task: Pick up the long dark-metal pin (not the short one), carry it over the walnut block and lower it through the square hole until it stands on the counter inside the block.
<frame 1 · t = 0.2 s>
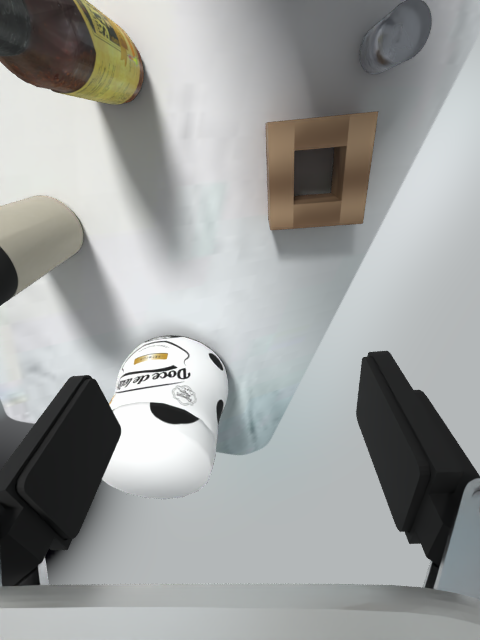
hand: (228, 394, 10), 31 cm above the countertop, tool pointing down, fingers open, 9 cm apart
milk container: (180, 367, 51), on the countertop
sauce bottle: (114, 67, 30), on the countertop
travel mug: (54, 227, 39), on the countertop
hole block: (310, 171, 34), on the countertop
short pin: (378, 49, 28), on the countertop
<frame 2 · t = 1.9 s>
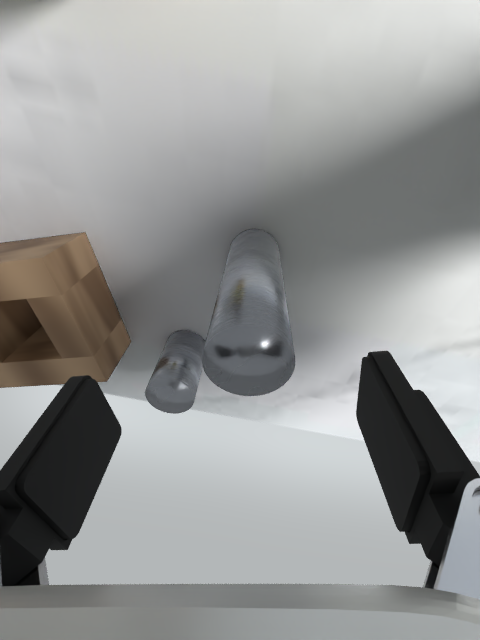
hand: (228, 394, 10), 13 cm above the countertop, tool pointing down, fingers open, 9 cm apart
long pin: (254, 253, 21), on the countertop
hole block: (54, 298, 25), on the countertop
short pin: (186, 346, 27), on the countertop
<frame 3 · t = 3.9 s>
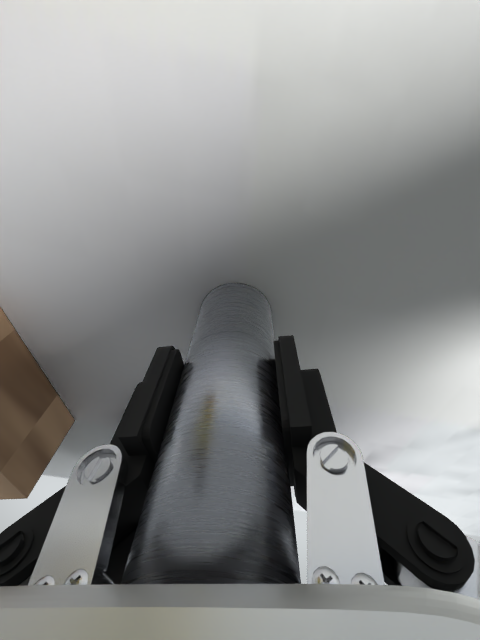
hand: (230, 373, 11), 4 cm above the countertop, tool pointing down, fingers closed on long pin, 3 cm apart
long pin: (235, 315, 15), on the countertop, touching gripper
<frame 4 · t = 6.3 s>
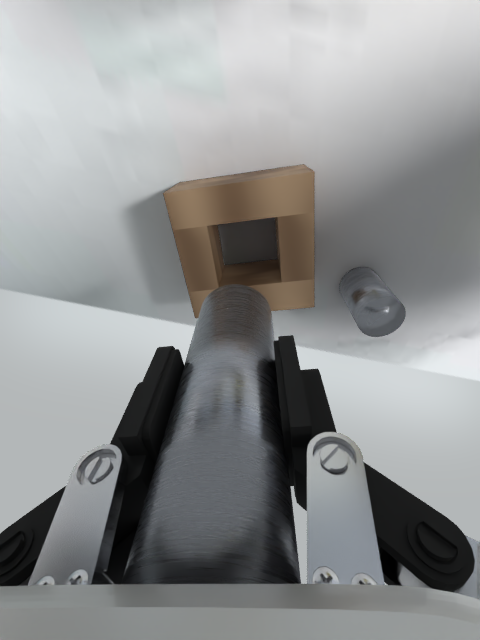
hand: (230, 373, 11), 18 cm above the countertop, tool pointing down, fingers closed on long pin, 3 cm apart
long pin: (235, 316, 15), point 13 cm above the countertop, touching gripper
hole block: (247, 235, 26), on the countertop
short pin: (358, 284, 28), on the countertop
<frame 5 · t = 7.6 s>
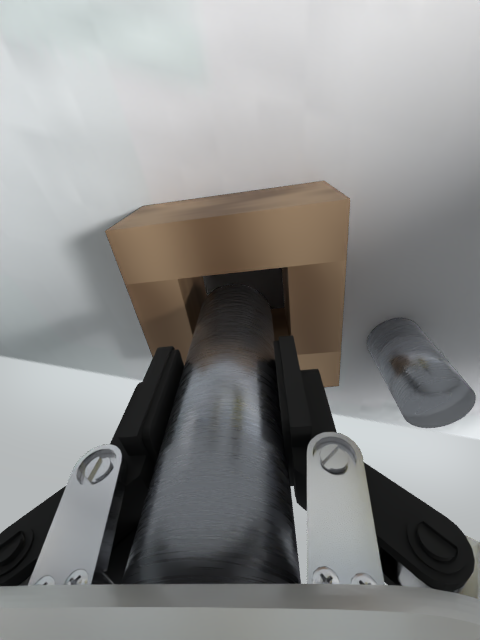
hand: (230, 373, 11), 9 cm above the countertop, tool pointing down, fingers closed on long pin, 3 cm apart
long pin: (235, 316, 15), point 5 cm above the countertop, touching gripper
hole block: (242, 277, 19), on the countertop
short pin: (393, 339, 21), on the countertop
when the fingers open (6 cm above the countertop, at t = 8.8 s): long pin drops 2 cm, resting in hole block.
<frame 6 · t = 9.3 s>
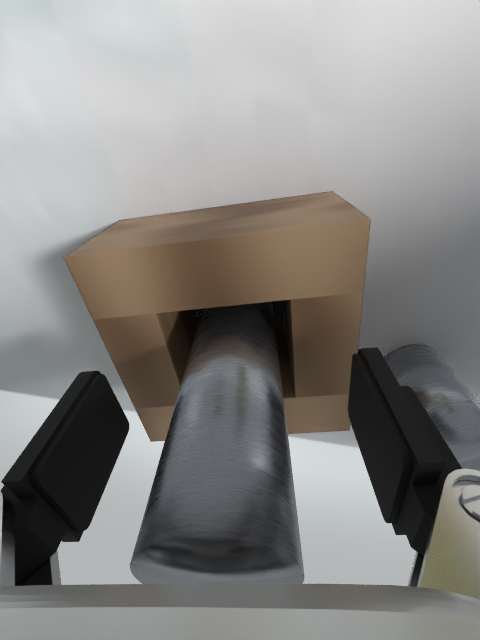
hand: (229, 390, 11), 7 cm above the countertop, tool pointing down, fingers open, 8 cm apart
long pin: (239, 300, 16), resting in hole block
hole block: (237, 300, 16), on the countertop
short pin: (408, 367, 18), on the countertop
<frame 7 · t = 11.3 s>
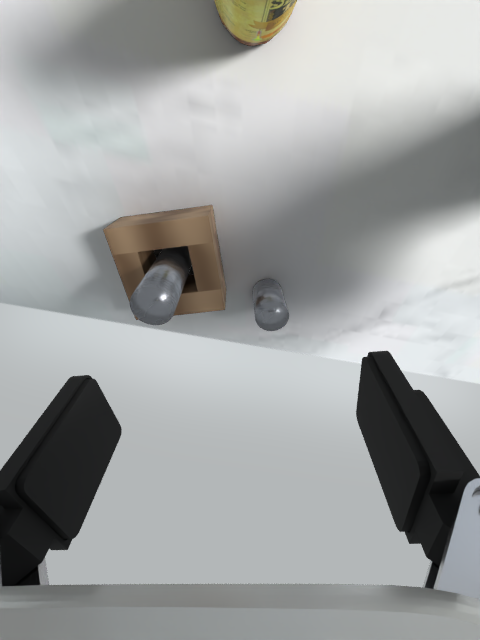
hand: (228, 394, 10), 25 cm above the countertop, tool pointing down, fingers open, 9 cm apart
long pin: (178, 255, 34), resting in hole block
hole block: (177, 255, 34), on the countertop
short pin: (267, 292, 37), on the countertop
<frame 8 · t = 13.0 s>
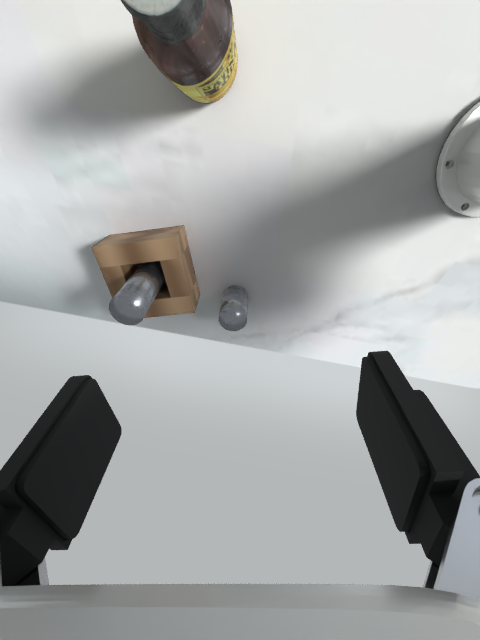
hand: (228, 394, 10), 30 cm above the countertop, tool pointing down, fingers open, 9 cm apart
sauce bottle: (207, 63, 29), on the countertop
long pin: (157, 266, 40), resting in hole block
hole block: (157, 266, 40), on the countertop
short pin: (235, 297, 43), on the countertop
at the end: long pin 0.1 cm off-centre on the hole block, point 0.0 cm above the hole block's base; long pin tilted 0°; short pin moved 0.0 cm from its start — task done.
